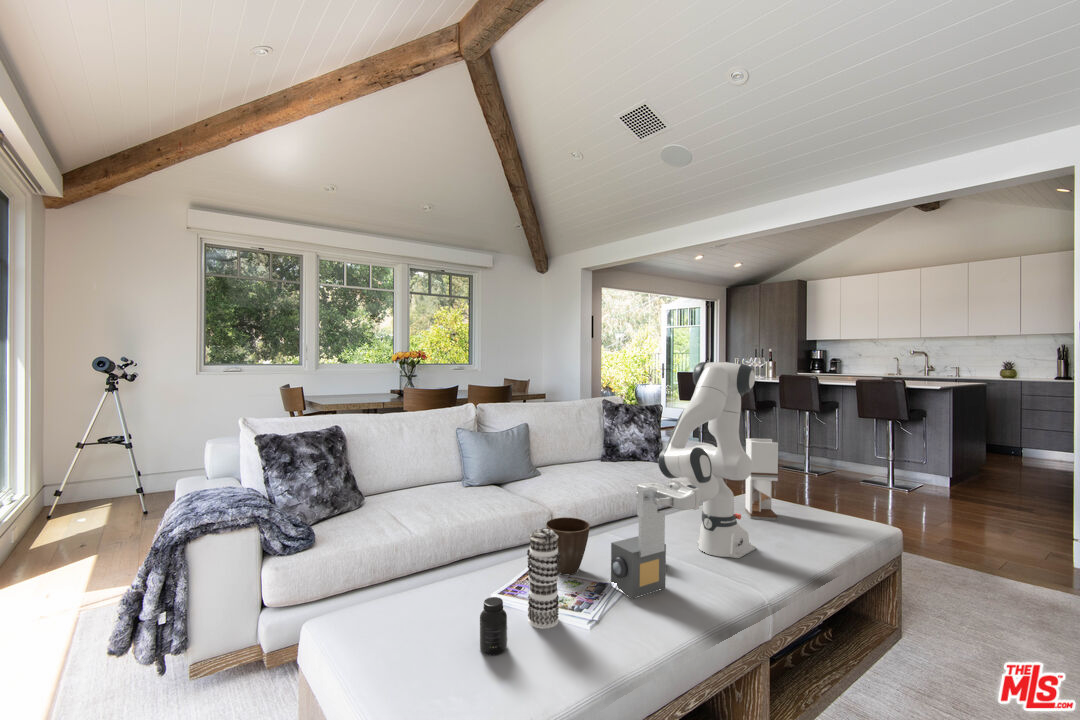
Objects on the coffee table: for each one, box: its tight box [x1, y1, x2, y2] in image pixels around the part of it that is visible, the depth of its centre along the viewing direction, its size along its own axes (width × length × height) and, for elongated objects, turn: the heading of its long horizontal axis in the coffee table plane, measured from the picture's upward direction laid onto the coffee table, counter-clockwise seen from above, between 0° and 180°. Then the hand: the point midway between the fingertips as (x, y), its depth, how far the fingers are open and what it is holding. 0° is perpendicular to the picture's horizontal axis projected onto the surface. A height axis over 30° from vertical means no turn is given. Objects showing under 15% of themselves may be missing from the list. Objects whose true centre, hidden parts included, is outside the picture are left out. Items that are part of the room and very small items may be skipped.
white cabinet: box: [744, 438, 779, 521], centre depth 240 cm, size 11×11×35 cm
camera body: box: [610, 535, 667, 599], centre depth 164 cm, size 16×10×14 cm, turn 122°
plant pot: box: [545, 516, 591, 576], centre depth 177 cm, size 15×15×16 cm
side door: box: [636, 487, 666, 557], centre depth 160 cm, size 10×2×20 cm, turn 122°
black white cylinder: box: [526, 527, 560, 630], centre depth 144 cm, size 9×9×25 cm
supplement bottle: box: [479, 596, 508, 656], centre depth 130 cm, size 7×7×12 cm
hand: (646, 498), depth 159 cm, fingers open, 7 cm apart
